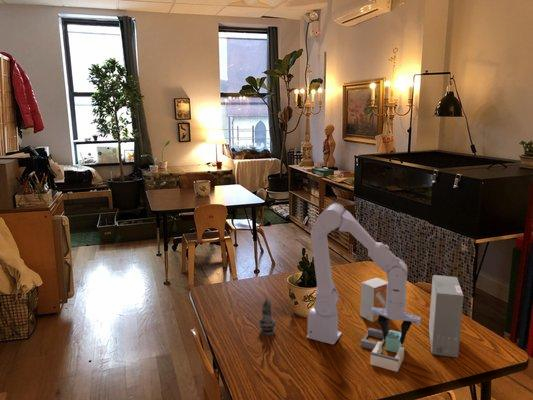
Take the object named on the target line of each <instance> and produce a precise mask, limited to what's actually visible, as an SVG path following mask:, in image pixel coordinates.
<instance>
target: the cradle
mask: <svg viewBox="0 0 533 400" xmlns="http://www.w3.org/2000/svg"><path fill="white" fill-rule="evenodd" d="M369 336H371V337H375V338H378V339H381V342H382V346H383V345H384V343H386V340H384V336H383V332H382V329H378V328H373V327H368V329H367V332H366V334H365V335H364V337H362V338H361V340H360V343H359V347H362V348H365V349H369V350H372V351H373V350H374V348H375V346H376V344H377V343H378V341H375V340H371V339H367V338H368V337H369Z"/></svg>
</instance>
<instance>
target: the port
mask: <svg viewBox="0 0 533 400" xmlns="http://www.w3.org/2000/svg"><path fill="white" fill-rule="evenodd" d="M377 342H378V343H377V344H376V346H375V348H374V350H373V349H372V351H371V352H370V363H369V364H370V365H372V366H375V367H379V368H382V369H386V370H390V371H393V372H398V371H399V369H400V367H401V365H402V363H403V360H404V358H405V347H403V346H402V347H400V348H399V350H398V352H397V353H396V355H395V356H394V357H393V356H390V355H385V354H382V352H383V345H382V341H377Z"/></svg>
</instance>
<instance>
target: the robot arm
mask: <svg viewBox="0 0 533 400" xmlns="http://www.w3.org/2000/svg"><path fill="white" fill-rule="evenodd" d="M338 228H339V229H338ZM336 229H338V232H346V233H347V232H348V233H349V234H351V235H352V236H353V237H354V238H355V239H356V240H357V241H358V242H359V243H360V244H361V245H362V246H363V247H364V248H366V249H367V256H368V257H369V258H370V259H371V260H372V261H373V262H374V263H375V265H377V266H378V267H379V268H380V270H381V271H383V272H384V273H386V274H385V276H386V279H387V282H388V284H387V294H386V308H375V307H373V308H372V309H371V315H373V316H375V315H377V316H379V317H378V320H377V323H378V324H379V327H380V330H382V332H383V336H384V340H385V341H386V336H387V334H388V332H389V319H390V320H391V321H392V320H393V321H401V322H402V323H401V325H400V332H401V344H402V345H404V342H405V340H406V335H407V333H408V331H409V330H410V327H411V326H412V324H414V325H416V326H420V325H421V316H418V315H415V314H412V313H409V312H406V307H407V306H406V305H407V304H406V302H407V280H408V265H407V263H406V261H404V259H401V258H400V257H399V256H398V257H397V256H396V255H395V254H394V253H393V252H392V250H390V246H389V245H388V244H386V243H385V244H384V243H383V242H381V241H380V242H378V241H375V239H374V238H373V237H372V236H371V235H370V234H369V232H368V231H367V230H365V227H363V226H362V225H361V224H360V223H359V222H358V221H357V219H356V218H355V217H354V216H353V214H352V213H351V212H350V211H348V210H347V209H346V208H345V207H344V206H343V205H342V204H341V203H331V204H330V205H328V206H327V207H326V208H325V209H323V211H322V212H321V213H320V214H319V215H318V216H317V218H316V220H315V222H314V223H313V226H312V227H311V229H310V241H311V247H312V256H313V263H314V264H313V265H314V270H315V271H314V272H315V273H314V274H315V279H316V288H315V289H316V290H315V301H314V303H313V305H314V306H313V307H311V309H309V312H308V315H307V335H306V339H310V340H314V341H318V342H320V343H321V342H322V343H324V344H325V343H326V344H329V345H335V344H336V342H337V341H338V340H339V338H340V337H341V336H342V334H343V332H342V331H339V329H338V328H339V323H338V322H339V309H338V308H337V304H338V302H339V301H340V296H339V295H340V294H339V292H338V290H337V288H336V284H335V282H334V281H333V274H332V273H333V272H332V267H331V266H332V265H331V257H330V250H329V249H330V248H329V242H328V241H329V239H328V235H329V234H330V232H333V231H334V230H336Z"/></svg>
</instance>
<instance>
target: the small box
mask: <svg viewBox="0 0 533 400" xmlns="http://www.w3.org/2000/svg"><path fill="white" fill-rule="evenodd" d="M360 283H361V285H360V289H361V290H360V312H359V313H360V314H359V316H360V317H362V318H364V319H366V320H368V321H370V322H372V323H375V322H378V317H379V316H377V315H375V316H373V315H371V309H372V308H373V307H375V308H386V294H387V284H388V280H387V281H386V280H384V279H382V278H379V277H375V278H374V277H373V278H370V279H368V280H365V281H361V282H360Z"/></svg>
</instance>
